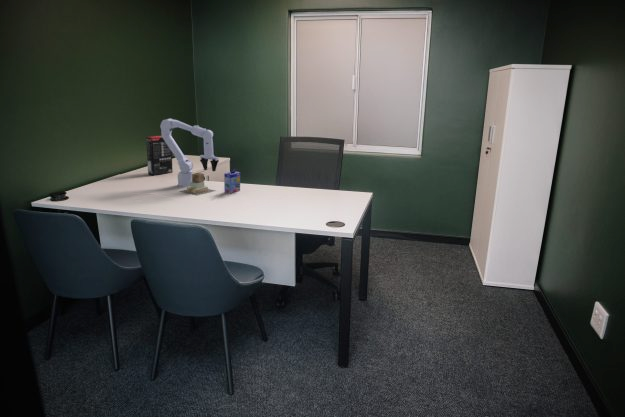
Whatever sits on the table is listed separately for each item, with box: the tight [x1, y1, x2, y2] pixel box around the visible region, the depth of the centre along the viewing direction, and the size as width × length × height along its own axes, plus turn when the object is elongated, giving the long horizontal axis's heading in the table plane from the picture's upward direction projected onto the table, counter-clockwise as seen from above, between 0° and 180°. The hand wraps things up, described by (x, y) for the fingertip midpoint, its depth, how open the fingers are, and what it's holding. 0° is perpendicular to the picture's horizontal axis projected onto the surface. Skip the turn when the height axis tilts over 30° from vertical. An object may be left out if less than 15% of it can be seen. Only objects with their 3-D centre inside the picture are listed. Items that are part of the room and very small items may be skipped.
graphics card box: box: [145, 135, 174, 176], centre depth 319 cm, size 17×7×27 cm, turn 144°
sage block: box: [190, 181, 205, 189], centre depth 272 cm, size 6×6×3 cm
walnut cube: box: [192, 172, 205, 183], centre depth 272 cm, size 5×5×5 cm
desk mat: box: [178, 188, 216, 196], centre depth 274 cm, size 16×16×1 cm
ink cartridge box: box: [223, 168, 241, 195], centre depth 273 cm, size 10×6×14 cm, turn 152°
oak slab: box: [186, 185, 209, 193], centre depth 273 cm, size 9×9×2 cm
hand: (209, 170), depth 285 cm, fingers open, 7 cm apart
